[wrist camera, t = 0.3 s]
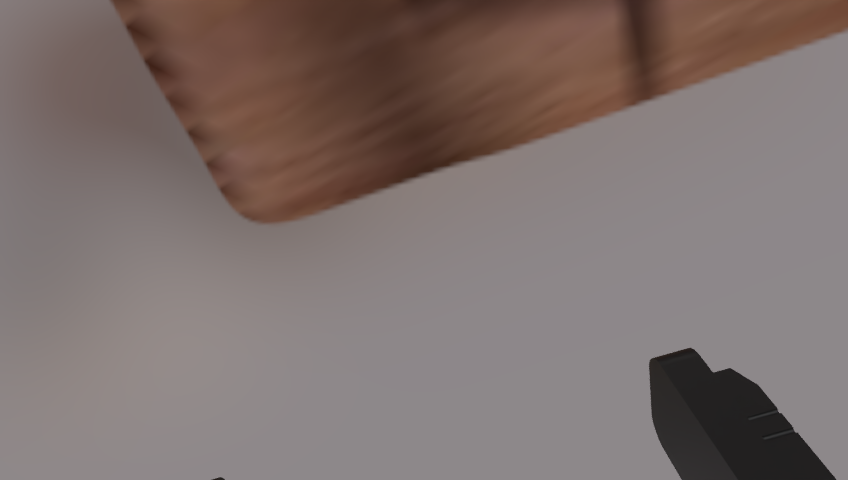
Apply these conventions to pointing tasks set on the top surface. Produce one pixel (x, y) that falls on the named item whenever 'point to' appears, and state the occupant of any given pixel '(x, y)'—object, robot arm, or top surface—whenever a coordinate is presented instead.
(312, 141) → the top surface
